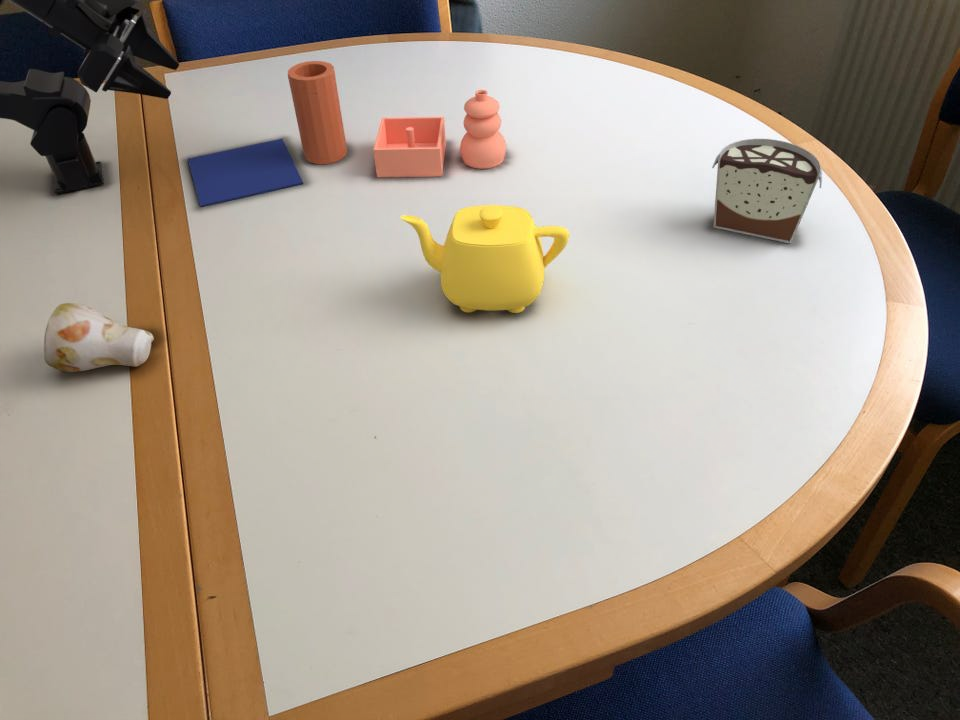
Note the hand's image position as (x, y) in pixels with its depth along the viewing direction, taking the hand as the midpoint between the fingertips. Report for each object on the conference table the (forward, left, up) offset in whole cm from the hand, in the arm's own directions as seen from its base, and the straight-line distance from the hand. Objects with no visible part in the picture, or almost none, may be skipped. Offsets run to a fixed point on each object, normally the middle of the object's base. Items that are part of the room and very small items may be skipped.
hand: (173, 80), depth 106 cm
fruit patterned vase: (+39, -14, -13) cm, 43 cm away
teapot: (+45, +27, -13) cm, 54 cm away
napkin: (+5, +6, -13) cm, 15 cm away
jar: (+5, +18, -13) cm, 22 cm away
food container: (+46, +63, -13) cm, 79 cm away
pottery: (+14, +33, -13) cm, 38 cm away
